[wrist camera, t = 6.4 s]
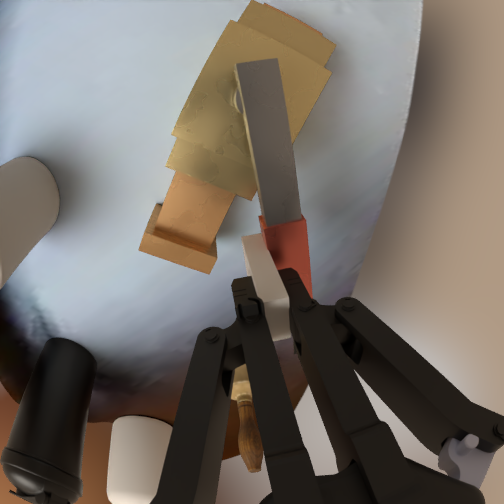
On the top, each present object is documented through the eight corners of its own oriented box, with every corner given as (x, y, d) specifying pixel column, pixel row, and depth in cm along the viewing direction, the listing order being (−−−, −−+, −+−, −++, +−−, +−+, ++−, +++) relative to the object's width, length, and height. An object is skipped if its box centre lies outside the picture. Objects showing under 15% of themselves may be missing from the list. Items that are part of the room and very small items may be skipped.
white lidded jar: (153, 409, 42) (152, 519, 25) (188, 436, 48) (194, 526, 31) (100, 416, 42) (90, 511, 25) (137, 442, 49) (136, 524, 32)
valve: (240, 12, 18) (253, -16, 12) (314, 49, 20) (351, 38, 14) (144, 216, 26) (127, 256, 20) (214, 241, 28) (217, 286, 22)
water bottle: (28, 340, 31) (-18, 478, 12) (71, 325, 31) (24, 496, 11) (70, 382, 37) (46, 511, 17) (116, 373, 36) (99, 524, 16)
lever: (226, 70, 15) (231, 64, 11) (267, 64, 15) (282, 57, 11) (268, 281, 22) (278, 313, 19) (298, 274, 23) (312, 305, 19)
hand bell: (268, 372, 40) (292, 473, 26) (211, 379, 39) (220, 482, 25) (268, 333, 35) (299, 451, 22) (201, 341, 35) (208, 464, 21)
